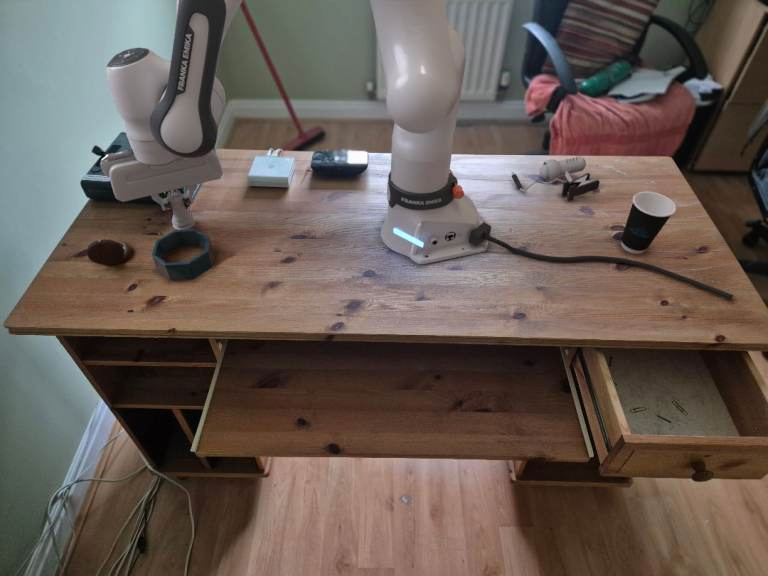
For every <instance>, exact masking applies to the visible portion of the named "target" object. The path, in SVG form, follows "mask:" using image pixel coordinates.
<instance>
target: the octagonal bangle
mask: <svg viewBox="0 0 768 576" xmlns="http://www.w3.org/2000/svg"><path fill="white" fill-rule="evenodd" d="M188 247H189V248H190V247H201V248H202V249H203V250H204V251H203V252H201V253H200V254H198V255H196V256H195V257H193V258H191V259H190V260H189V261H181V262H180V261H179V262H166V261H165V258H166V257H167V256H168V255H170V254H171V253H173V252H176V251H177V250H179V249H181V248H188ZM215 254H216V252H215V249H214V247H213V243H212V239H211V237H210V236H208V235H207V234H205V233H203V232H202V231H201V230H199V229H197V228H190V229H187V230H177V229H175V230H172V231H171V232H169V233H167V234H165V235H164V236H162V237H161V238H159V239H157V240H156V241H155V243H154V246H153V249H152V252H151V258H152V259H153V262H154V265H155V268H156V269H157V272H159V273H160V274H162V275H163V276H164V277H165V278H166V279H168V280H169V281H173V282H174V281H186V280H194V279H195V280H196V279H197V278H199V277H200V276H201V275H203V274H204V273H206V272H207V271H209V270H210V269H212V268H213V265H214V259H215Z"/></svg>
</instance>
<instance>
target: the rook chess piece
mask: <svg viewBox="0 0 768 576" xmlns="http://www.w3.org/2000/svg"><path fill="white" fill-rule="evenodd" d="M183 194H184V193H181V191H180V190H179V189H175V190H171V191H167V194H166V195H167V196H166V198H167V201H168V203H169V206H170V208H171V210H172V214H173V215H172V219H171V223H172V227H173V228H174V229H175V230H187V229H193V227H194V225H195V223H196V220H195V219H194V216H193V215H192V214H191V213H190V212H189V210H188V209H187V207H186V206H185V204H186V203H185V200H184V196H183Z"/></svg>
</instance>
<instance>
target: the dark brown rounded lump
mask: <svg viewBox="0 0 768 576" xmlns="http://www.w3.org/2000/svg"><path fill="white" fill-rule="evenodd" d="M129 245H130V244H127V243H126V242H123V241H116V240H111V239H107V238H106V239H105V238H104V239H102V237H99V239H98V240H94V241H92V242H91V243H90V244H88V246H87V248H86V256H85V258H86V259H87V260H90V261H91V262H92V263H95V264H97V265H102V266H112V265H116V264H120V263H122V262H124V261H126V259H128V258H129V257H130V255H131V252H132V250H131V247H130V246H129Z"/></svg>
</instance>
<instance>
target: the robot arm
mask: <svg viewBox="0 0 768 576" xmlns="http://www.w3.org/2000/svg"><path fill="white" fill-rule="evenodd" d="M243 1H244V0H176V1H175V2H176V5H175V6H176V7H175V8H176V9H175V10H176V11H175V13H176V14H175V19H176V20H175V28H174V36H173V45H172V52H171V57H170V58H171V59H170V60H168V59H166V58H164V57H161V56H159V55H158V54H157V53H155V52H154V51H153V50H151V49H149V48H146V47H133V48H129V49H124V50H122V51H121V52H118V53H116V54H115V55H114V56H113V57H112V58H111V59H110V60H109V61H108V63H107V65H106V67H105V74H106V80H107V83H108V84H107V85H108V88H109V91H110V94H111V97H112V102H113V104H114V107H115V109H116V111H117V113H118V114H119V116H120V117H121V119H122V121H123V123H124V131H125V135H126V138H127V140H128V142H129V145H130V148H129V149H124V150H121V151H118V152H111V153H110V152H109V153H106V154H105V156H104V157H103V158H101V160H100V162H99V167H100V169H101V171H102V173H103V175H104V176H106V177H107V178H109V181H110V184H111V188H112V192H113V194H114V197H115V199H116V200H117V201H119V202H122V203H125V202H130V201H133V200H138V199H142V198H146V197H151V199H152V200H153V201H154V202H156V203H157V204H158V205H160V207H161V209H162V212H163V211H169V210H171V206H170V202H169V201H167V197H164V198H162V197H161V196H160V194H162V193H168V192H171V191H172V190H174V191H176V190H179V189H183V188H186V189H187V190H186V192H185V193H182V194H183V196H184V197H183V201H184V202H185V203H184V204H185V205H187V206H188V205H192V204H194V200H193V197H194V193H195V191H196V187H195V186H196V185H199V184H203V183H208V182H212V181H216V180H220V179H221V178H222V177H223V175H224V171H223V167H222V164H221V162H220V160H219V158H218V156H217V153H216V150H215V149H214V148H215V147H216V144H217V139H218V133H219V127H220V124H221V120H222V117H223V113H224V111H225V107H226V103H227V92H226V88H225V86H224V85H223V82H222V80H220V78H219V77H218V76H217V75H216V74H217V69H218V64H219V57H220V53H221V49H222V46H223V43H224V40H225V38H226V35H227V33H228V31H229V29H230V26H231V24H232V22H233V20H234V18H235V16H236V14H237V12H238V11H239V8H240V7H241V5H242V3H243ZM368 1H369V5H370V10H371V12H372V17H373V21H374V28H375V33H376V38H377V39H376V41H377V47H378V52H379V53H378V54H379V58H380V64H381V69H382V74H383V80H384V86H385V98H386V99H385V101H386V109H387V112H388V115H389V117H390V118H391V120H392V121H393V130H392V135H391V154H390V171H389V173H388V178H387V183H386V184H387V186H386V200H387V208H386V214H385V217H384V220H383V223H382V225H381V229H380V237H381V240H382V242H383V243H384V244H385V246H386V247H387V248H388V249H390V250H392V251H393V252H395V253H397V254H399V255H403V256H405V257H408V258H409V259H410V260H412V261H413V262H414V263H416V264H418V265H428V264H431V263H436V262H442V261H445V260H451V259H455V258H456V259H457V258H460V257H465V256H470V255H475V254H479V253H483V252H486V251H487V249H488V246H489V242H490V243H492V244H495V245H497V246H499V247H501V248H503V249H505V250H507V251H509V252H511V253H514V254H517V255H519V256H523V257H527V258H531V259H535V260H541V261H547V262H555V263H556V262H557V263H575V262H587V261H589V262H590V261H594V262H609V263H616V264H625V265H629V266H633V267H638V268H642V269H646V270H649V271H652V272H655V273H658V274H660V275H661V274H662V275H664V276H666V277H670V278H672V279H674V280H677V281H680V282H683V283H686V284H688V285H691V286H694V287H695V288H699V289H702V290H704V291H707V292H710V293H712V294H714V295H717V296H719V297H722V298H725V299H726V300H727V299H728V300H733V298H734V294H731V293H728V292H726V291H723V290H721V289H718V288H716V287H713V286H711V285H709V284H708V285H707V284H705V283H703V282H700V281H698V280H695V279H692V278H690V277H688V276H687V277H686V276H683V275H681V274H679V273H675V272H673V271H669V270H667V269H666V268H665V269H664V268H662V267H659V266H656V265H652V264H649V263H646V262H642V261H638V260H633V259H628V258H622V257H615V256H605V255H604V256H603V255H579V256H555V255H554V256H552V255H546V254H545V255H544V254H539V253H533V252H530V251H526V250H523V249H519V248H517V247H514V246H512V245H510V244H508V243H507V242H505V241H502V240H500V239H498V238H495V237H493V236H491V231H492V225H490V224H488V223H486V222H484V220H483V218H482V217H481V216H480V214H479V211H478V209H477V206H476V205H475V203H474V201H473V200H472V198H470V196H468V195H467V194H465V191H464V189H463V187H462V186H461V185H459V181H458V178H457V176H455V175H454V173H453V171H452V169H451V163H452V155H453V146H454V142H455V135H456V128H457V121H458V115H459V108H460V103H461V96H462V90H463V83H464V76H465V71H466V70H465V69H466V61H467V58H466V50H465V46H464V43H463V41H462V38H461V36H460V34H459V33H458V32H457V31H456V30H455V28H453V27H452V26H451V25H449V23H448V22H449V21H448V13H447V5H446V3H447V2H446V0H368Z"/></svg>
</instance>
